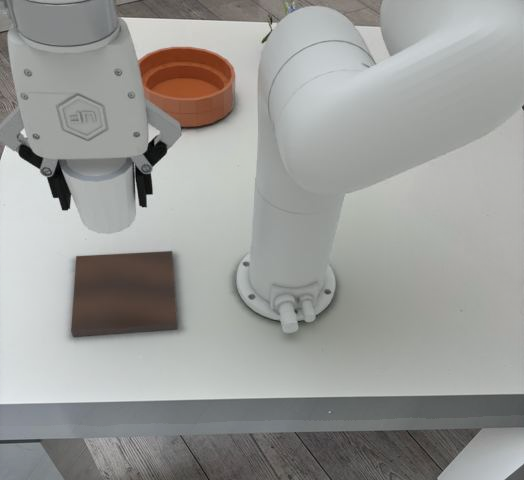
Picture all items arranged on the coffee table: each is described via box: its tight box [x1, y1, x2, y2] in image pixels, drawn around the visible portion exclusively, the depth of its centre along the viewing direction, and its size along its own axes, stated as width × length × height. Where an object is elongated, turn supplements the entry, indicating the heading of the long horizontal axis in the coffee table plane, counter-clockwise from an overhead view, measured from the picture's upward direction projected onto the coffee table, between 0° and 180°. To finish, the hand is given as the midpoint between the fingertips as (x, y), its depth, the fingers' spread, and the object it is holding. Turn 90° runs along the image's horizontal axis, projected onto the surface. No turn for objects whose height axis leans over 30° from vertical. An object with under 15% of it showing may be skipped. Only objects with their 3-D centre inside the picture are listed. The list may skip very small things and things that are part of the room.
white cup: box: [59, 157, 137, 235], centre depth 54 cm, size 7×7×7 cm
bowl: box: [137, 46, 236, 128], centre depth 90 cm, size 16×16×5 cm
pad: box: [70, 250, 178, 338], centre depth 66 cm, size 12×12×1 cm
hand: (105, 198), depth 55 cm, fingers closed on white cup, 6 cm apart
